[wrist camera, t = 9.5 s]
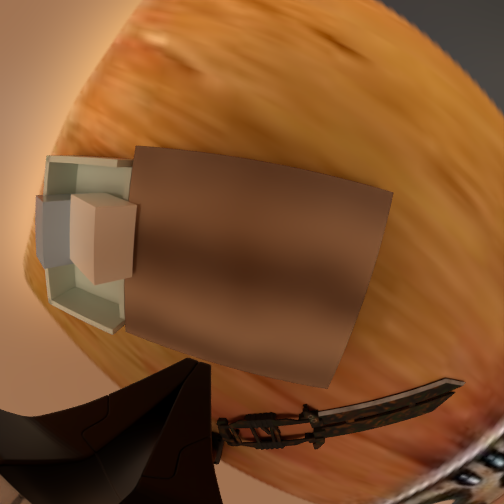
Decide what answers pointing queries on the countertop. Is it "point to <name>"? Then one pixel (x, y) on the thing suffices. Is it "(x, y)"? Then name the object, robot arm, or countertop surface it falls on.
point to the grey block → (53, 229)
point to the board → (250, 261)
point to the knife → (341, 417)
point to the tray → (69, 276)
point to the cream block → (102, 236)
